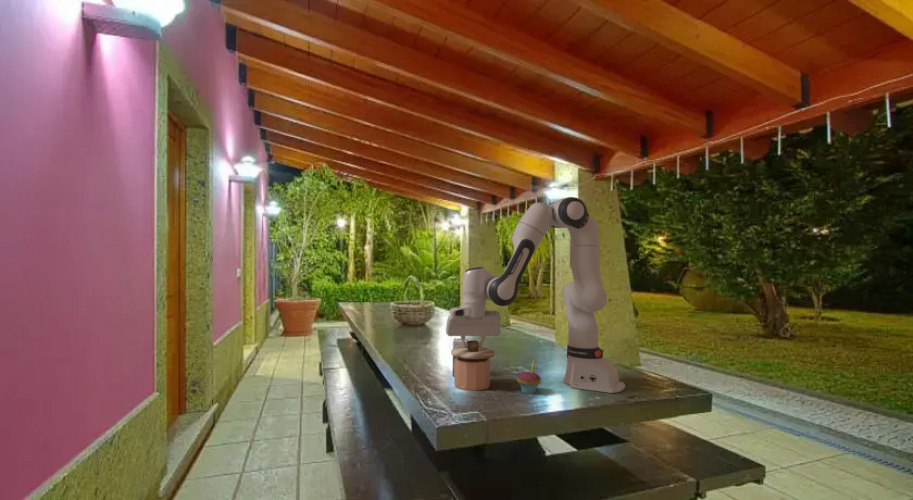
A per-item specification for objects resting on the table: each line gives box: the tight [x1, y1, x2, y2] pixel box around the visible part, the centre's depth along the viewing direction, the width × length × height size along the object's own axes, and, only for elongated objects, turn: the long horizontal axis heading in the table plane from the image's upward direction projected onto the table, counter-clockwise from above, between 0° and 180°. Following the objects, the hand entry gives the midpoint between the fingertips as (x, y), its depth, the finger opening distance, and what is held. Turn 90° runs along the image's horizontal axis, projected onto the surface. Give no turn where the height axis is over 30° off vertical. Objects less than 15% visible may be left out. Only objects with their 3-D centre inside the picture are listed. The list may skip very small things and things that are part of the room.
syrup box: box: [451, 337, 469, 378], centre depth 186 cm, size 6×6×14 cm
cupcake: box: [516, 358, 542, 395], centre depth 165 cm, size 9×8×12 cm
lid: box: [450, 339, 495, 359], centre depth 172 cm, size 16×16×5 cm
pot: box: [454, 357, 491, 392], centre depth 171 cm, size 13×13×10 cm
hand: (472, 347), depth 171 cm, fingers closed on lid, 4 cm apart
